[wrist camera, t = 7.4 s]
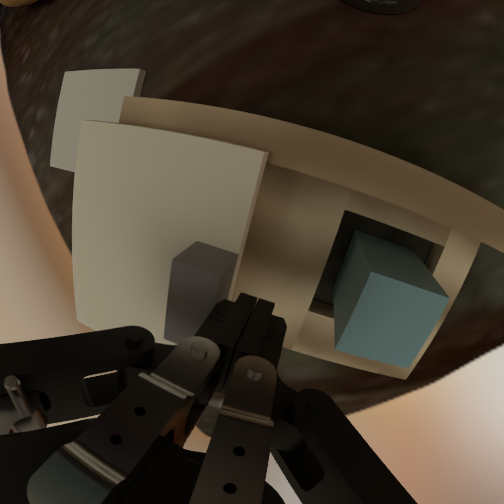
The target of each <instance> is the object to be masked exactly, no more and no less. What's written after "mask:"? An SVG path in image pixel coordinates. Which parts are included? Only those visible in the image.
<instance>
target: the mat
mask: <svg viewBox="0 0 504 504" xmlns="http://www.w3.org/2000/svg"><path fill="white" fill-rule="evenodd" d="M145 74H146V71H145V70H142V69H98V70H81V71H70V72H65V75H64V79H63V83H62V88H61V92H60V97H59V102H58V108H57V114H56V120H55V126H54V133H53V141H52V150H51V160H50V166H52V167H56V168H60V169H64V170H68V171H72V172H75V167H76V158H77V150H78V142H79V135H80V129H81V123H82V120H96V121H105V122H114V123H119V119H120V114H121V109H122V104H123V99H124V96H130V97H140V94H141V90H142V86H143V82H144V78H145Z"/></svg>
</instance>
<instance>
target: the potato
mask: <svg viewBox="0 0 504 504" xmlns="http://www.w3.org/2000/svg"><path fill="white" fill-rule="evenodd" d="M36 1H38V0H0V3H1V4H3V5H4V6H11V7H14V6H20V5H27V4H31V3H34V2H36Z"/></svg>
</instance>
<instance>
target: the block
mask: <svg viewBox="0 0 504 504" xmlns="http://www.w3.org/2000/svg"><path fill="white" fill-rule="evenodd" d="M333 299H334V350H338V351H341V352H345V353H349V354H352V355H356V356H360V357H364V358H367V359H371V360H375V361H379V362H383V363H387V364H391V365H395V366H400V367H404V368H409V367H410V365H411V364H412V362H413V361H414V359H415V358H416V356H417V355H418V353H419V351H420V350H421V348H422V347H423V345H424V343H425V342H426V340H427V339H428V337H429V335H430V334H431V332H432V330H433V328H434V327H435V325H436V323H437V322H438V320H439V318H440V316H441V314H442V313H443V311H444V309H445V307H446V305H447V303H448V301H449V299H450V298H449V297H448V295H447V294H446V292H445V291H444V290H443V288H442V287H441V286H440V284H439V283H438V282H437V280H436V279H435V278H434V276H433V275H432V274H431V272H430V271H429V270H428V268H427V267H426V266H425V265H424V263H423V262H422V261H421V260H420V258H419V257H418V256H417V255H416V253H415V252H414V251H413V250H411V249H408V248H406V247H403V246H400V245H398V244H395V243H392V242H389V241H386V240H384V239H381V238H378V237H375V236H372V235H370V234H367V233H364V232H361V231H358V230H355V232H354V234H353V237H352V240H351V243H350V245H349V248H348V251H347V253H346V256H345V259H344V261H343V264H342V267H341V269H340V272H339V274H338V277H337V279H336V282H335V284H334V287H333Z"/></svg>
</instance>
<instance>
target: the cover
mask: <svg viewBox="0 0 504 504" xmlns="http://www.w3.org/2000/svg"><path fill="white" fill-rule="evenodd" d="M268 153H269V152H267V151H263V150H259V149H255V148H251V147H247V146H243V145H238V144H234V143H230V142H225V141H221V140H216V139H211V138H207V137H202V136H197V135H191V134H186V133H181V132H175V131H169V130H164V129H157V128H151V127H144V126H137V125H130V124H122V123H114V122H105V121H96V120H82V123H81V129H80V135H79V142H78V150H77V158H76V167H75V178H74V192H73V213H72V260H73V280H74V294H75V305H76V314H77V320H78V321H79V322H81V323H83V324H85V325H86V326H88V327H90V328H92V329H93V330H95V331H100V330H106V329H112V328H118V327H124V326H131V325H134V326H140V327H143V328H146V329H147V330H149V331H150V332H151V333H152V334H153V336H154V338H155V342H156V343H162V344H167V345H178V344H179V343H180V342H181V341H182V340H183V339H185V338H188V337H193V336H194V335H195V334H196V332H197V331H198V329H199V328H200V326H201V325H202V324H203V322H204V321H205V319H206V318H207V317H208V315H209V313H210V312H211V311H212V309H213V308H214V306H215V305H216V303H218V302H220V301H222V300H224V299H227V300H230V301H231V299H232V295H233V291H234V287H235V283H236V279H237V275H238V271H239V267H240V263H241V259H242V255H243V251H244V247H245V243H246V239H247V235H248V231H249V227H250V223H251V219H252V215H253V211H254V207H255V204H256V200H257V196H258V192H259V188H260V184H261V180H262V176H263V172H264V168H265V165H266V161H267V157H268Z"/></svg>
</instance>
